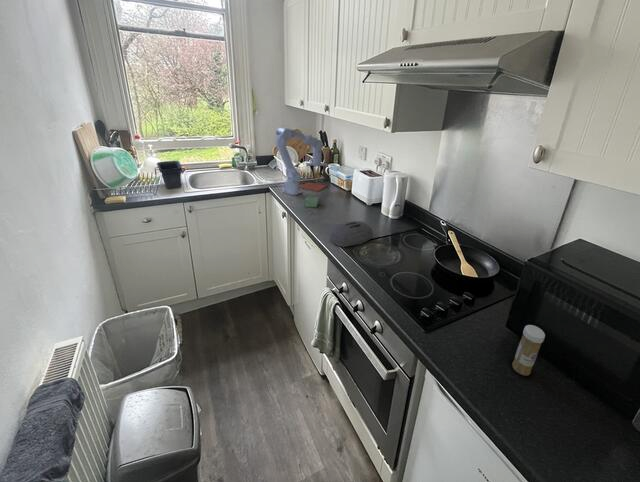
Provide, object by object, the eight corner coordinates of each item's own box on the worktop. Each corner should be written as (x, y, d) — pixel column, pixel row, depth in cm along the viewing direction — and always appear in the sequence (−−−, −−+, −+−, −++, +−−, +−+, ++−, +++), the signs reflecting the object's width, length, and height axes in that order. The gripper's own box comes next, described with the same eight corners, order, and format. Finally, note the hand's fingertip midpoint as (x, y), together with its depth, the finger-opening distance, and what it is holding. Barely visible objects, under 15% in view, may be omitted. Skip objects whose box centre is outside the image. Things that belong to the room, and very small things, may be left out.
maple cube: (313, 178, 205) (314, 172, 204) (313, 176, 209) (313, 171, 207) (319, 178, 206) (319, 172, 204) (319, 176, 209) (319, 171, 208)
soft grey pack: (357, 229, 154) (324, 238, 144) (359, 214, 151) (324, 222, 141) (376, 242, 143) (340, 252, 132) (377, 226, 140) (341, 235, 129)
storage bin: (186, 188, 198) (183, 167, 193) (159, 191, 190) (155, 170, 185) (181, 179, 214) (178, 160, 209) (156, 182, 206) (152, 162, 201)
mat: (298, 187, 212) (298, 186, 212) (308, 182, 224) (308, 181, 224) (317, 191, 206) (317, 191, 206) (327, 186, 218) (327, 185, 218)
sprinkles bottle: (523, 378, 78) (537, 339, 73) (507, 364, 82) (520, 326, 77) (534, 372, 80) (549, 334, 75) (519, 359, 84) (532, 322, 79)
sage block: (304, 206, 180) (305, 200, 178) (307, 202, 186) (307, 196, 185) (316, 207, 179) (316, 201, 178) (318, 203, 186) (318, 197, 184)
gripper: (306, 158, 198) (306, 177, 202) (328, 158, 199) (327, 178, 204) (306, 156, 204) (306, 175, 209) (327, 156, 206) (326, 175, 211)
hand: (316, 176), depth 207 cm, fingers closed on maple cube, 4 cm apart
